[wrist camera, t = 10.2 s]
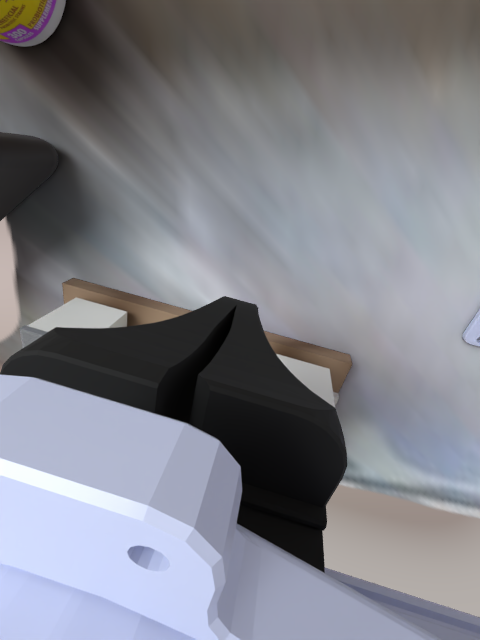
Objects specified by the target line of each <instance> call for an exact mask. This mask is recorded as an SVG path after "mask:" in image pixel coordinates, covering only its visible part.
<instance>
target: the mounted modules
mask: <svg viewBox="0 0 480 640" xmlns="http://www.w3.org/2000/svg"><path fill="white" fill-rule="evenodd" d="M55 327H63V328H117V327H127V312H126V311H123V310H119V309H116V308H112V307H108V306H105V305H101V304H98V303H94V302H91V301H87V300H84V299H80V298H77V297H76V298H74V299H73V300H71V301H69V302H67V303H66V304H64V305H62V306H60V307H59V308H57V309H55V310H54V311H52V312H50V313H48V314H47V315H45V316H43V317H41V318H40V319H38V320H36V321H35V322H33V323H31V324H29V325H28V326H23V327H22V328H20V333H21V339H22V345H23V348H24V347H26V346H27V345H29V344H31V343H32V342H34V341H35V340H37V339H38V338H40V337H41V336H43V335H44V334H46V333H47V332H49V331H50V330H52V329H54V328H55ZM276 355H277V356H278V358H279V359H280V360H281V361H282V363H283V364H284V365H285V366H286V367H287V368H288V369H289V371H290V372H291V373H292V374H293V375H294V376H295V377H296V378H297V379H298V380H299V381H301V382H302V383H303V384H304V385H305V386H306V387H307V388H309V389H310V390H311V391H312V392H314V393H315V394H317V395H318V396H319V397H321V398H322V399H324V400H325V401H326V402H328V403H329V404H330V405H332V406H333V407H335V403H334V396H333V389H332V382H331V375H330V369H328V368H325V367H321V366H318V365H314V364H311V363H307V362H304V361H300V360H297V359H293V358H289V357H286V356H282V355H279V354H276Z"/></svg>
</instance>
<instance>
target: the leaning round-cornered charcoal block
mask: <svg viewBox="0 0 480 640" xmlns="http://www.w3.org/2000/svg"><path fill="white" fill-rule="evenodd" d="M57 164H58V155H57V152H56V150H55V149H54V147H53V146H52V145H51V144H49V143H48V142H46V141H44V140H42V139H40V138H37V137H33V136H27V135H19V134H11V133H2V132H0V221H1V220H2V219H3V218H4V217H5V216H6V215H7V214H9V213H10V212H11V211H12V210H13V209H14V208H15V207H16V206H17V205H18V204H20V203H21V202H22V201H23V200H24V199H25V198H26V197H27V196H28V195H30V194H31V193H32V192H33V191H34V190H35V189H36V188H37V187H38V186H40V185H41V184H42V183H43V182H44V181H45V180H46V179H47V178H48V177H50V176H51V175H52V173H53V172H54V171H55V169H56V167H57Z"/></svg>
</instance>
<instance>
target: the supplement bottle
mask: <svg viewBox="0 0 480 640" xmlns="http://www.w3.org/2000/svg"><path fill="white" fill-rule="evenodd" d="M65 4H66V0H0V41H3V42H5V43H8V44H11V45H15V46H23V47H27V46H34V45H37V44H39V43H42V42H43V41H45V40H46V39H47V38H48V37H50V36H51V35H52V33H53V32H54V31H55V29H56V28H57V26H58V24H59V22H60V20H61V18H62V15H63V12H64V8H65Z"/></svg>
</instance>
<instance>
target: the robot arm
mask: <svg viewBox="0 0 480 640" xmlns="http://www.w3.org/2000/svg"><path fill="white" fill-rule="evenodd" d="M462 337H463V339H464V341H465V342H466V343H468V344H472V345H475V346H479V347H480V340H477V339H478V338H479V337H480V309H479V311H478V312H477V314H476V315H475V317H474V318H473V320H472V321H471V323H470V324H469V326H468V327H467V329H466V330H465V332H464V333H463V336H462ZM346 467H347V453H346V447H345V441H344V436H343V432H342V429H341V425H340V422H339V419H338V416H337V412H336V409H335V407H333V406H332V405H330V404H329V403H328V402H326V401H325V400H324V399H322V398H321V397H319V396H318V395H317V394H315V393H314V392H312V391H311V390H310V389H309V388H307V387H306V386H305V385H304V384H303V383H302V382H301V381H299V380H298V379H297V378H296V377H295V376H294V375H293V374H292V373H291V372H290V371H289V369H288V368H287V367H286V366H285V365H284V364H283V363H282V361H281V360H280V359H279V358H278V356H277V355H276V353H275V352H274V350H273V349H272V347H271V345H270V343H269V341H268V339H267V337H266V335H265V333H264V330H263V328H262V325H261V322H260V318H259V314H258V307H257V306H256V305H255V304H251V303H248V302H244V301H240V300H237V299H233V298H229V297H226V296H224V297H222V298H220V299H218V300H216V301H214V302H212V303H210V304H208V305H206V306H203V307H201V308H199V309H197V310H194V311H191V312H189V313H186V314H184V315H181V316H178V317H175V318H171V319H168V320H164V321H160V322H155V323H149V324H142V325H136V326H128V327H117V328H63V327H55V328H54V329H52V330H50V331H49V332H47V333H46V334H44V335H43V336H41V337H40V338H38V339H37V340H35V341H34V342H32V343H31V344H29V345H27V346H26V347H24V348H23V349H21V350H20V351H18V352H17V353H15V354H14V355H12V356H11V357H10V358H9V359H8V360H7V361H6V362H5V363H4V364H3V367H2V370H1V373H0V640H480V617H477V616H473V615H470V614H467V613H464V612H461V611H458V610H455V609H452V608H449V607H446V606H442V605H439V604H436V603H433V602H430V601H427V600H424V599H421V598H418V597H415V596H411V595H408V594H405V593H402V592H399V591H396V590H393V589H390V588H386V587H384V586H380V585H377V584H374V583H371V582H368V581H364V580H362V579H358V578H355V577H352V576H349V575H346V574H343V573H340V572H337V571H334V570H330V569H328V568H325V567H324V552H323V536H322V530H324V529H325V528H326V524H327V518H326V504H327V502H328V501H329V499H330V498H331V496H332V494H333V493H334V491H335V490H336V488H337V486H338V485H339V483H340V481H341V480H342V478H343V476H344V473H345V470H346Z"/></svg>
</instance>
